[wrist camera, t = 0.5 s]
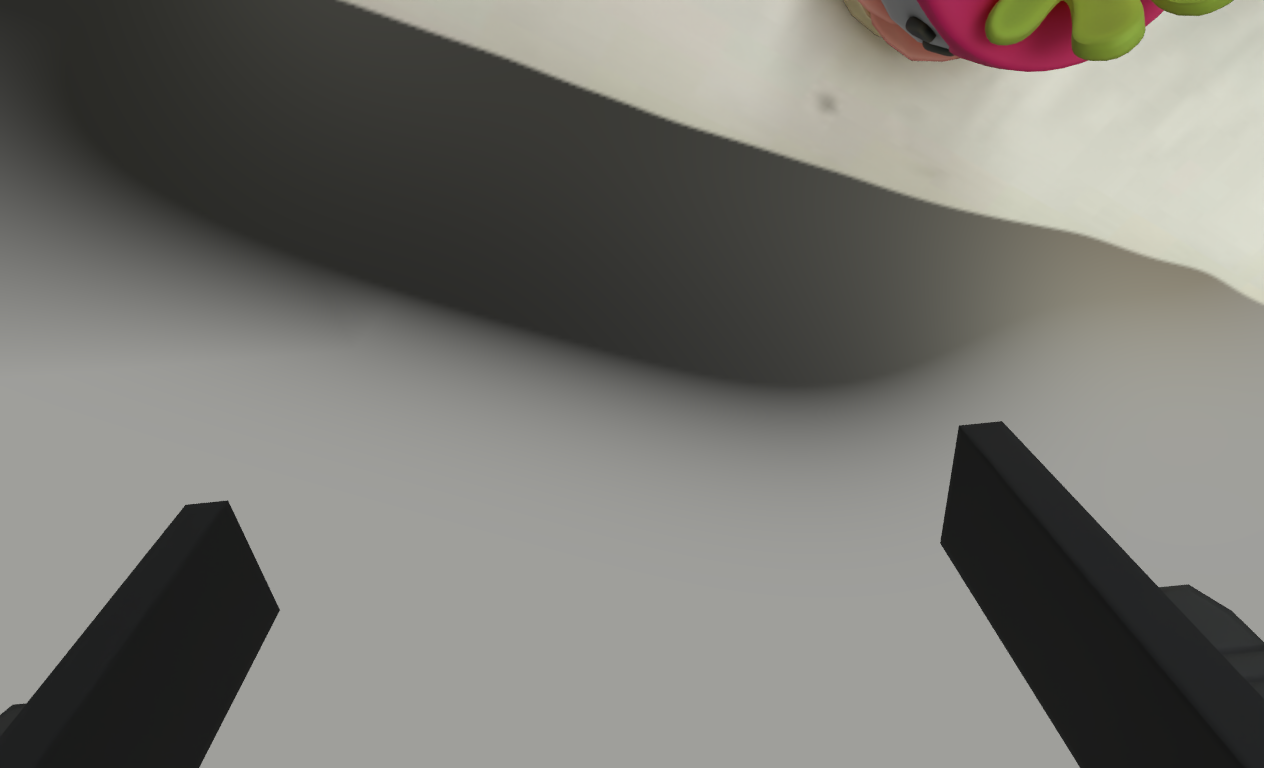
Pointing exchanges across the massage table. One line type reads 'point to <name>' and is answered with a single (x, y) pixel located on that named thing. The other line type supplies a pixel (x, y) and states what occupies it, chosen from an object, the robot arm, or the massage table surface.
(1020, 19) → the cake
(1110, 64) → the massage table surface
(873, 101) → the massage table surface
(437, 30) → the massage table surface
